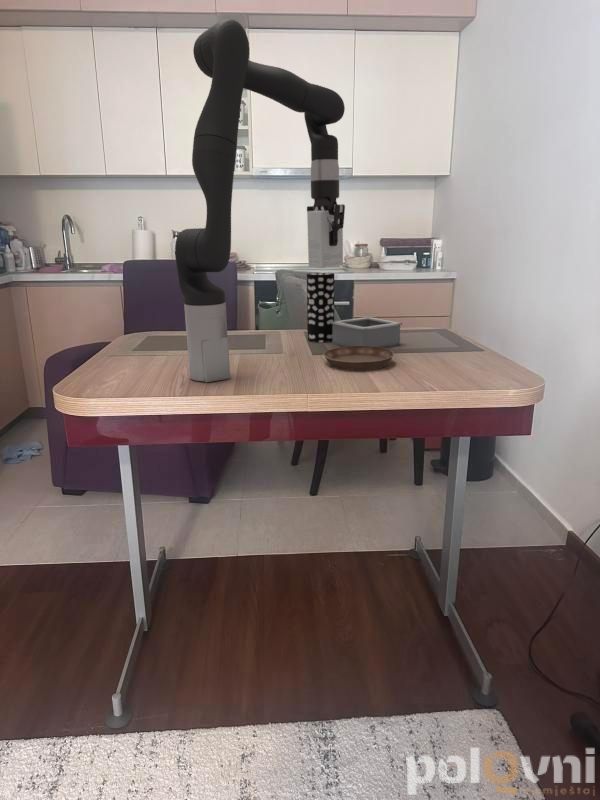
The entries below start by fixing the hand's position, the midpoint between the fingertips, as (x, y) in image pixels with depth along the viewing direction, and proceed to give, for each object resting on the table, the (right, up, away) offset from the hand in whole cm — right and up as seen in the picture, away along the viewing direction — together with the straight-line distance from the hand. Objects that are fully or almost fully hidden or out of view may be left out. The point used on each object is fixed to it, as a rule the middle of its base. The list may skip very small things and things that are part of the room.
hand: (325, 245), depth 146 cm
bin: (+12, -26, +12) cm, 31 cm away
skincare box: (0, -6, +2) cm, 6 cm away
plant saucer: (+8, -33, -10) cm, 36 cm away
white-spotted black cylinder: (-1, -24, +20) cm, 31 cm away
